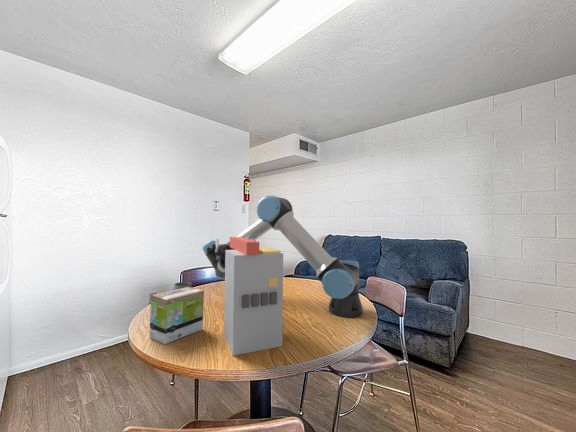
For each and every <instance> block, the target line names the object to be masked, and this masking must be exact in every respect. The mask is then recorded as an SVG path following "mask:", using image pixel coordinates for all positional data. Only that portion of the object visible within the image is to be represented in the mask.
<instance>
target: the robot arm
mask: <svg viewBox="0 0 576 432" xmlns="http://www.w3.org/2000/svg"><path fill="white" fill-rule="evenodd" d="M293 210H294V209H293V206H292V203H291V202H290V201H289V200H288V199H286V198H283V197H279V196H276V195H271V194H270V195H266V196H263V197H261V199H260V200H259V201H258V203H257V205H256V213H257V217H258V218H259V219H258V220H256V221H255V222H254V223H253V224H251V225H250V226H249V227H246V229H244V230H243V231H241V232H240V233H239V234H237V235H236V236H235V237H242V238H246V239H250V240H253V241H257V239H259V238H261V237H262V236H263V235H264V234H266V233H267V232H269V231H270V230H272V229H273V230H274V231H279V232H280V233H281V234H282V235H283V236H284V237H285V238H286V239H287V241H288V242H289V243H290V244H291V245H292V246H293V247H294V248H295V249H296V250H297V252H298V253H299V254H300V255H301V256H302V257H303V258H304V259H305V261H307V262H308V264H309V265H310V266H311V267H312V268H313V270H315V273H316V278H317V279H318V280H319V282H321V285H322V288H323V291H324V293H325V294H326V295H327V296H328V297H330V300H329V303H328V312H329V313H330V314H332V315H334V316H338V317H341V316H342V317H343V318H356V317H355V316H358V317H361V316H362V315H363V313H364V312H363V311H364V307H363V304H362V301H361V297H360V293H359V292H360V263H359V262H358V261H355V260H341V259H339V258H338V257H333V256H331V255H330V254H329V253H328V252H327V251H326V250H325V249H324V248H323V246H322V245H320V244H319V242H318V241H317V240H316V239H315V238H314V237H313V236H312V235H311V233H310V232H308V231H307V230H306V229H305V227H303V225H302V224H301V223H300V222H299V221H298V220H297V219H296V218H295V217H294V215H295V214H294V213H295V212H294V211H293ZM219 241H220V239H219V238H216V240H214V239H213V240H210V241H207V242H206V243H205V244H203V246H202V250H203V252H204V254H205V257H207V259H208V261H209V262H210V264H211V267H212V268H213V270H214V274H215V276H216V278H217V279H218V280H225V250H235V249H233V248H231V247H230V240H229V241H228V242H227V243H221V244H220V242H219ZM360 315H361V316H360Z"/></svg>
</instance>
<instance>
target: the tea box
mask: <svg viewBox="0 0 576 432" xmlns="http://www.w3.org/2000/svg"><path fill="white" fill-rule="evenodd" d="M204 292H205V290H202V289H198V288H193V287H192V288H190V287H186V288H181V289H177V290H168V291H163V292H160V293H156V294H152V295H151V297H150V312H149V313H150V315H149V317H150V318H149V335H148V336H149V338H151V339H153V340H154V341H157V342H159V343H161V344H164V345H168V344H169V343H171V342H174V341H176V340H179V339H181V338H185V337H186V336H188V335H191V334H194V333H196V332H199V331H202V330H203V327H204V325H203V324H204V302H205V301H204V299H205V297H204V295H205V293H204Z"/></svg>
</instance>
